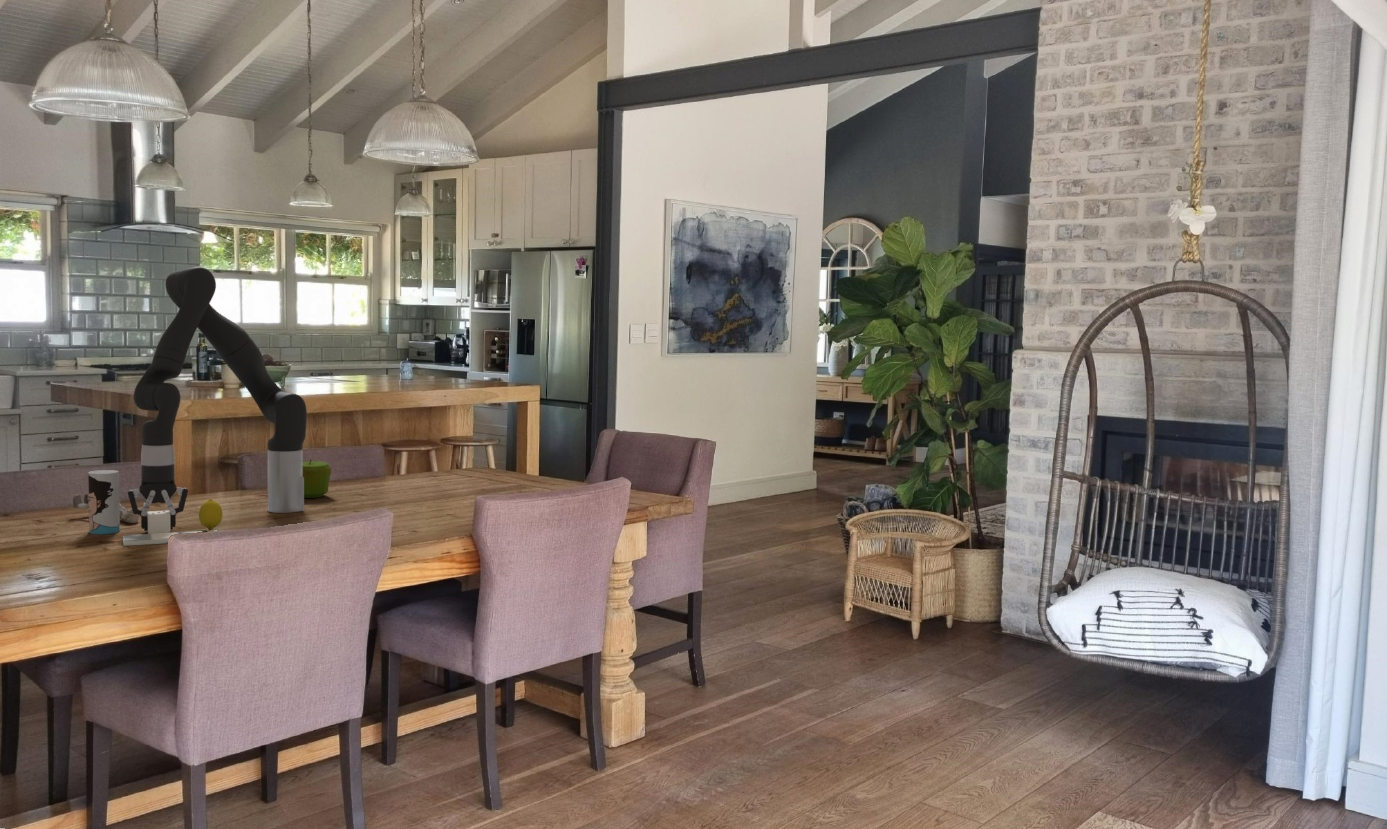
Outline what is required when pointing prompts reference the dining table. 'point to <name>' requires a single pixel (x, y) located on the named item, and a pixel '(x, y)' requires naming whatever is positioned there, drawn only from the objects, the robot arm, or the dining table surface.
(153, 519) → the off-white cube
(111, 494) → the cup
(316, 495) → the apple
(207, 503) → the lemon
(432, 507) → the dining table surface
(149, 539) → the board
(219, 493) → the dining table surface
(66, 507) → the dining table surface
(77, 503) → the figurine
